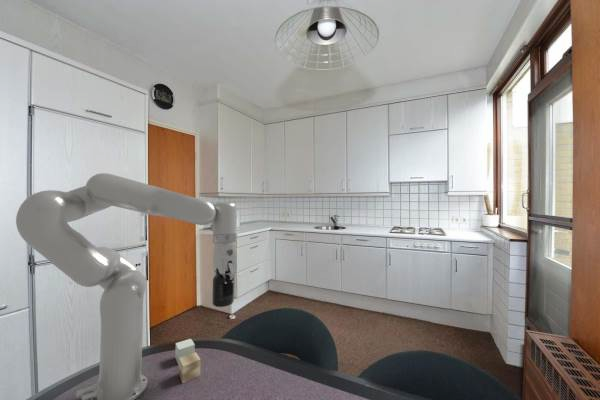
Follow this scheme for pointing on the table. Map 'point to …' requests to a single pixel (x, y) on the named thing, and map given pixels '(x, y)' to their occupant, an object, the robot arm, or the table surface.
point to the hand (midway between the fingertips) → (223, 291)
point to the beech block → (189, 367)
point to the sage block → (184, 349)
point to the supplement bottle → (220, 291)
